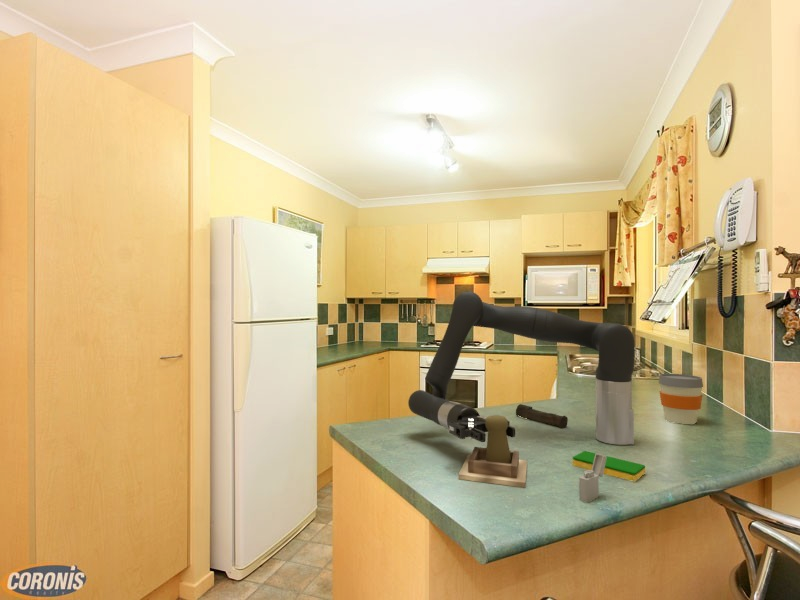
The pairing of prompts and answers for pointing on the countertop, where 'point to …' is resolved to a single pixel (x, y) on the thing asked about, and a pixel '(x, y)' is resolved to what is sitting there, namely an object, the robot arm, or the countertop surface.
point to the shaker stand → (494, 469)
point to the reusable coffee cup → (680, 397)
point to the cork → (497, 440)
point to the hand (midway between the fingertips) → (499, 435)
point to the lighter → (592, 479)
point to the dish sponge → (611, 466)
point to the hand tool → (541, 416)
